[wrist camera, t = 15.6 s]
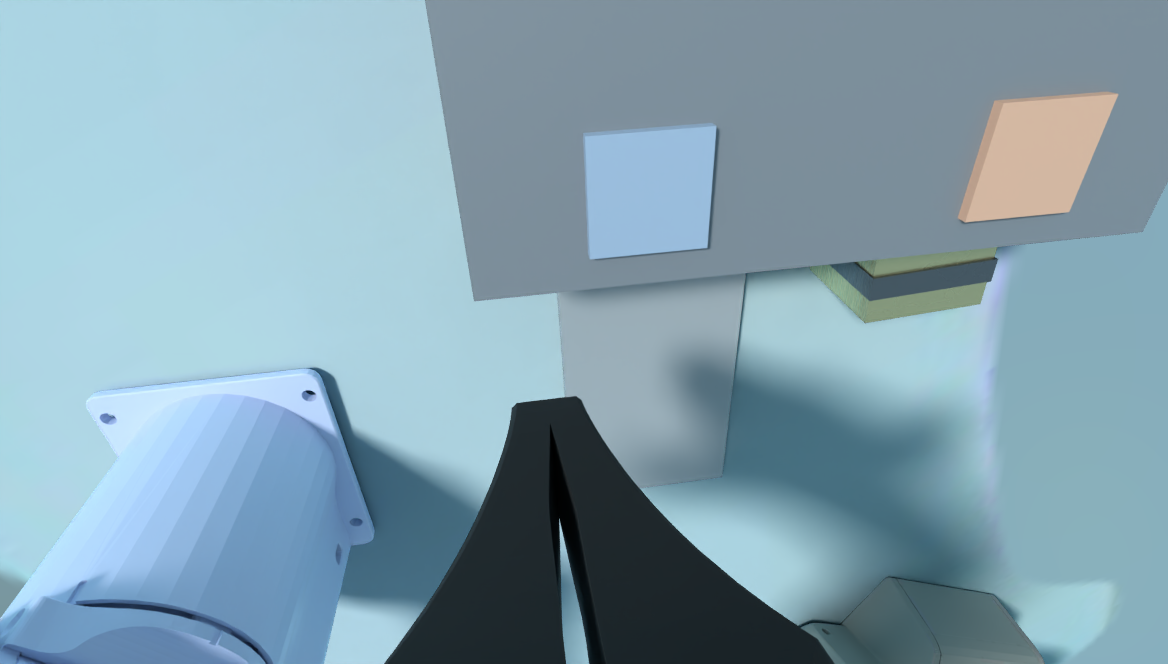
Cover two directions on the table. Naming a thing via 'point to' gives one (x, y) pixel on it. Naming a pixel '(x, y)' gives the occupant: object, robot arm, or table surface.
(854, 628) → the digital clock
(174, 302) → the table surface
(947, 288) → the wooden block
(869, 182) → the socket bank
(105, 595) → the robot arm
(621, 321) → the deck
